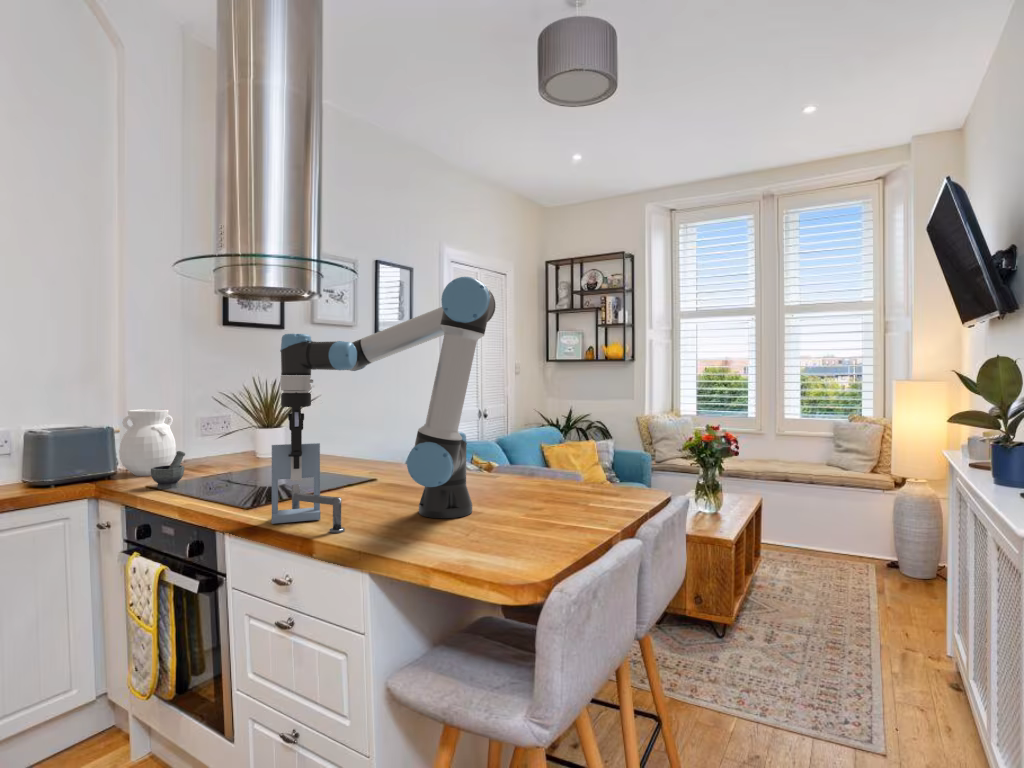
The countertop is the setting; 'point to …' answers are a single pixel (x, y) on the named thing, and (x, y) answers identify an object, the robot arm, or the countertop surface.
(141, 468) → the white handled vase
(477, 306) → the robot arm
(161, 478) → the mortar and pestle
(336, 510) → the grey bent bar frame
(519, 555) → the countertop surface
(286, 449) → the blue-grey upright frame
